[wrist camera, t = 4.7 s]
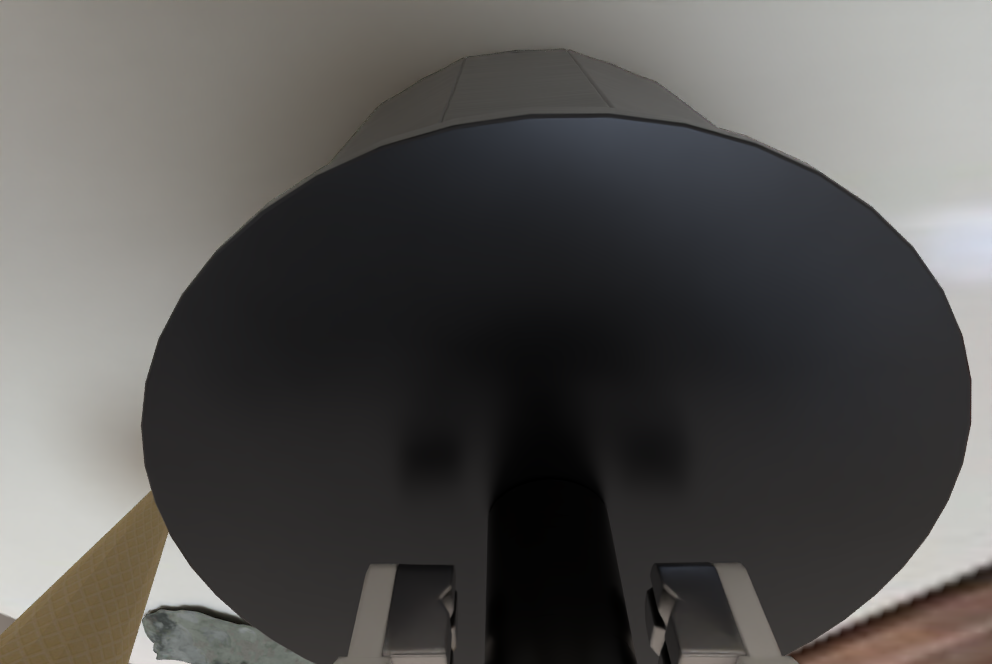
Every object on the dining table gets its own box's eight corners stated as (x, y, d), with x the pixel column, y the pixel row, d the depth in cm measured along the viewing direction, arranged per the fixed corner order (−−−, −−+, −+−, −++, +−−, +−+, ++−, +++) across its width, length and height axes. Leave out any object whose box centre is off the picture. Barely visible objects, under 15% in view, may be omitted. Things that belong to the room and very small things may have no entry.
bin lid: (160, 611, 15) (9, 901, 11) (186, -76, 7) (-373, -143, 3) (692, 708, 18) (762, 977, 13) (1137, 273, 10) (1719, 556, 5)
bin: (294, 376, 24) (170, 627, 15) (367, -28, 16) (203, -16, 7) (625, 460, 26) (691, 720, 17) (822, 141, 18) (1121, 307, 10)
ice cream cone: (185, 382, 24) (-176, 863, 11) (286, 466, 26) (86, 937, 14) (97, 440, 25) (-303, 913, 13) (199, 514, 28) (-50, 971, 15)
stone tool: (129, 664, 33) (132, 617, 30) (145, 634, 34) (151, 588, 32) (308, 707, 34) (326, 667, 32) (317, 678, 36) (335, 636, 33)
